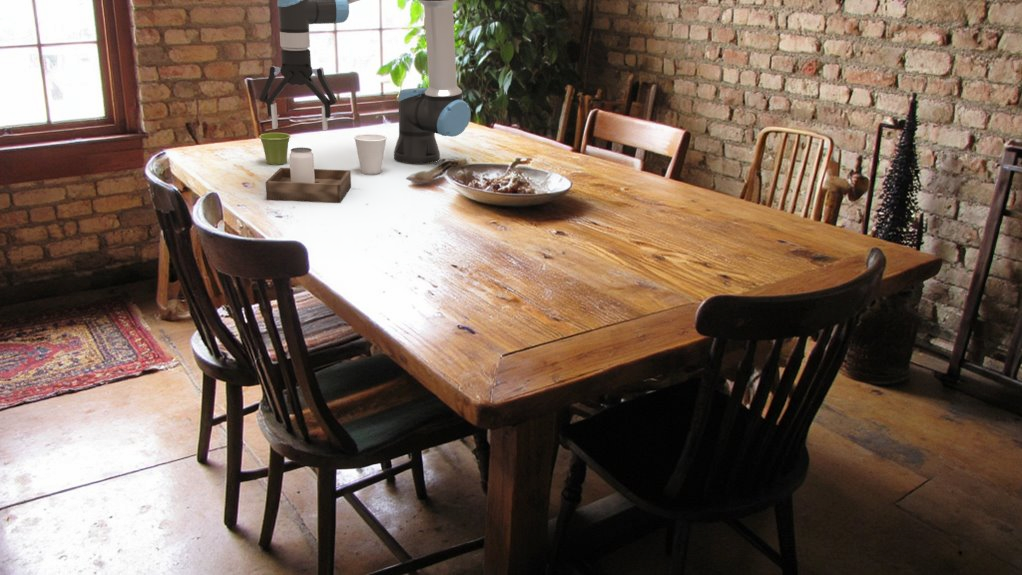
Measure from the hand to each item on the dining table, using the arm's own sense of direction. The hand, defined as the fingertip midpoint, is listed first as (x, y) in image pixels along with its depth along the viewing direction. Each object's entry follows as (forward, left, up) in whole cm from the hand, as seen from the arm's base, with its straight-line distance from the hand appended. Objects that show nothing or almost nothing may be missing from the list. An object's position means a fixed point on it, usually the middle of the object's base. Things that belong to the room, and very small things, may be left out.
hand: (300, 129), depth 230 cm
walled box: (-2, 0, -18) cm, 18 cm away
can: (0, 0, -18) cm, 18 cm away
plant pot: (+16, -33, -18) cm, 41 cm away
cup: (-15, -26, -18) cm, 35 cm away
